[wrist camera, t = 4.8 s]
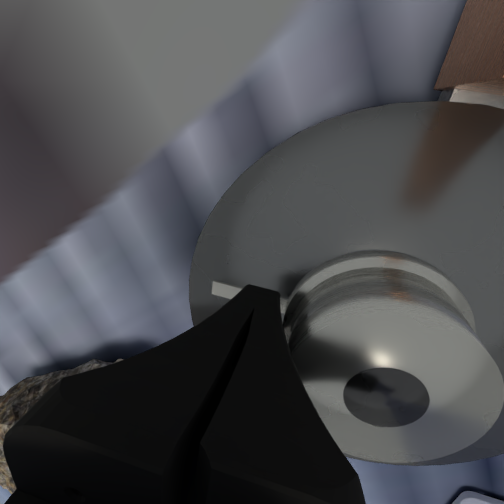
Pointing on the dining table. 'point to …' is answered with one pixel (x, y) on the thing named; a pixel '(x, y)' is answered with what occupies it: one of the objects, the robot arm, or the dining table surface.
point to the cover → (391, 357)
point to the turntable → (381, 198)
